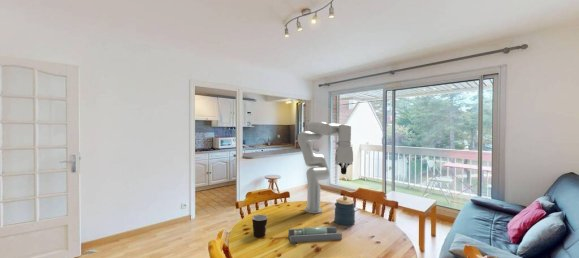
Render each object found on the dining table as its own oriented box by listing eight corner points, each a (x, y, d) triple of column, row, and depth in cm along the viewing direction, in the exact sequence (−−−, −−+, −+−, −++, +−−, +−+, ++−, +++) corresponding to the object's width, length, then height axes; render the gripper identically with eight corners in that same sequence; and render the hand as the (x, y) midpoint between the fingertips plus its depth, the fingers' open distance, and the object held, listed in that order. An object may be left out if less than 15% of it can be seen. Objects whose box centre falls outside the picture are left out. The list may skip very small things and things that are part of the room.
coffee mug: (260, 240, 128) (261, 221, 128) (248, 236, 132) (248, 218, 132) (273, 232, 138) (273, 215, 138) (261, 228, 142) (261, 212, 142)
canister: (359, 224, 151) (360, 197, 151) (344, 229, 144) (344, 200, 144) (344, 217, 162) (345, 192, 162) (330, 221, 155) (330, 194, 155)
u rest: (288, 236, 133) (288, 229, 133) (335, 233, 138) (336, 226, 138) (291, 244, 124) (291, 236, 124) (341, 240, 129) (341, 233, 129)
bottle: (324, 233, 135) (293, 235, 131) (324, 224, 135) (293, 226, 131) (327, 238, 130) (295, 240, 126) (327, 228, 129) (295, 230, 126)
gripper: (334, 144, 141) (334, 175, 141) (358, 144, 143) (357, 175, 144) (330, 143, 148) (329, 172, 148) (353, 143, 151) (352, 172, 151)
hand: (343, 173), depth 146 cm, fingers closed
